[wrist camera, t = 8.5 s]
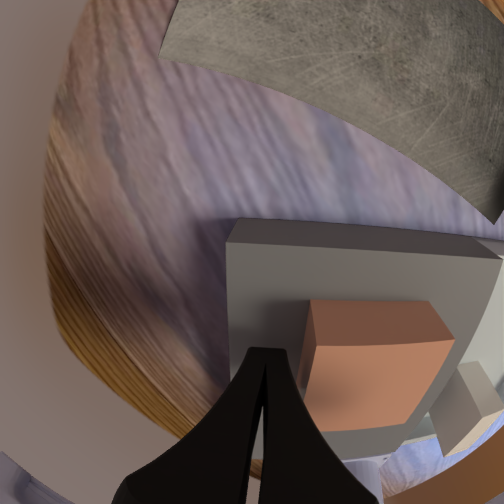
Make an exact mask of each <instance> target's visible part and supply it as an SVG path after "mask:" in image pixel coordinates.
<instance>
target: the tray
mask: <svg viewBox="0 0 504 504" xmlns="http://www.w3.org/2000/svg"><path fill="white" fill-rule="evenodd" d="M472 238H474V239H475V240H477V241H478V242H479V243H481V244H482V245H484V246H485V247H487V248H488V249H490V250H491V251H492V252H494V253H495V254H496V255H498V256H499V257H501V258H502V259H503V263H502V266H501V269H500V272H499V276H498V278H497V281H496V284H495V287H494V290H493V292H492V295H491V298H490V300H489V303H488V305H487V308H486V310H485V312H484V315H483V317H482V319H481V321H480V324H479V326H478V328H477V330H476V332H475V334H474V336H473V338H472V340H471V342H470V344H469V346H468V348H467V350H466V352H465V354H464V356H463V357H462V359H461V361H460V363H459V364H464V363H470V362H474V361H479V363H480V364H481V366H482V368H483V369H484V371H485V373H486V374H487V376H488V378H489V379H490V381H491V383H492V384H493V386H494V388H495V390H496V391H497V393H498V395H499V397H500V399H501V401H502V402H503V404H504V241H501V240H493V239H486V238H479V237H472ZM459 364H458V365H459ZM435 437H437V435H436V432H435V429H434V426H433V423H432V421H431V418H430V415H429V412H427V413H426V415H425V416H424V417H423V419H422V420H421V421H420V422H419V424H418V425H417V426H416V428H415V429H414V430H413V431H412V432H411V434H410V435H409V436H408V437H407V438H406V440H405V441H404V442H403V443H402V444H401V445H406V444H410V443H415V442H419V441H424V440H428V439H431V438H435ZM401 445H400V446H401Z"/></svg>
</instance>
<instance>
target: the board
mask: <svg viewBox="0 0 504 504" xmlns="http://www.w3.org/2000/svg"><path fill="white" fill-rule="evenodd" d="M502 263H503V259H502V258H501V257H499V256H498V255H496V254H495V253H494V252H492V251H491V250H490V249H488V248H487V247H485V246H484V245H482V244H481V243H479V242H478V241H477V240H475V239H474V238H472V237H471V236H463V235H455V234H446V233H437V232H428V231H419V230H409V229H398V228H388V227H376V226H365V225H352V224H339V223H325V222H309V221H293V220H275V219H254V218H238V220H237V222H236V224H235V226H234V227H233V229H232V231H231V233H230V235H229V237H228V239H227V240H226V283H227V314H228V339H229V361H230V380H231V381H232V379H233V378H234V376H235V374H236V373H237V371H238V369H239V367H240V365H241V364H242V362H243V359H244V357H245V355H246V352H247V350H248V348H249V347H251V346H252V347H266V348H284V349H285V350H286V351H287V356H288V361H289V365H290V368H291V371H292V374H293V377H294V380H295V383H296V380H297V375H298V370H299V365H300V359H301V354H302V348H303V342H304V336H305V330H306V324H307V318H308V311H309V305H310V299H314V300H343V301H429V303H430V304H431V305H432V307H433V308H434V309H435V311H436V312H437V313H438V315H439V316H440V318H441V319H442V320H443V322H444V323H445V325H446V326H447V328H448V329H449V330H450V332H451V333H452V335H453V336H454V338H455V341H454V343H453V345H452V347H451V349H450V351H449V353H448V355H447V357H446V359H445V361H444V363H443V364H442V366H441V368H440V370H439V372H438V373H437V375H436V377H435V378H434V380H433V382H432V383H431V385H430V387H429V388H428V390H427V392H426V393H425V395H424V396H423V398H422V399H421V401H420V402H419V404H418V405H417V407H416V408H415V410H414V411H413V412H412V414H411V415H410V417H409V418H408V419H407V421H406V422H405V423H403V424H397V425H391V426H384V427H376V428H367V429H357V430H344V431H322V432H320V433H321V434H322V436H323V437H324V439H325V440H326V442H327V443H328V445H329V446H330V447H331V449H332V450H333V451H334V453H335V454H336V455H337V456H338V458H339V459H346V458H356V457H365V456H372V455H379V454H385V453H391V452H395V451H396V450H397V449H398V448H399V447H400V445H401V444H402V443H403V442H404V441H405V440H406V438H407V437H408V436H409V435H410V434H411V432H412V431H413V430H414V429H415V428H416V426H417V425H418V424H419V422H420V421H421V420H422V419H423V417H424V416H425V415H426V413H427V412H428V411H429V409H430V408H431V406H432V405H433V404H434V402H435V401H436V399H437V398H438V396H439V395H440V393H441V392H442V390H443V389H444V387H445V386H446V384H447V383H448V381H449V380H450V378H451V376H452V375H453V373H454V371H455V370H456V368H457V366H458V364H459V363H460V361H461V359H462V357H463V356H464V354H465V352H466V350H467V348H468V346H469V344H470V342H471V340H472V338H473V336H474V334H475V332H476V330H477V328H478V326H479V324H480V321H481V319H482V317H483V315H484V312H485V310H486V308H487V305H488V303H489V300H490V298H491V295H492V292H493V290H494V287H495V284H496V281H497V278H498V276H499V272H500V269H501V266H502ZM252 459H263V407H262V412H261V417H260V422H259V426H258V431H257V435H256V440H255V444H254V449H253V454H252Z"/></svg>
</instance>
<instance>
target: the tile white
mask: <svg viewBox="0 0 504 504" xmlns="http://www.w3.org/2000/svg"><path fill="white" fill-rule="evenodd" d="M503 411H504V404H503V402H502V401H501V399H500V397H499V395H498V393H497V391H496V390H495V388H494V386H493V384H492V383H491V381H490V379H489V378H488V376H487V374H486V373H485V371H484V369H483V368H482V366H481V364H480V363H479V361H474V362H470V363H464V364H459V365H458V366H457V368H456V370H455V371H454V373H453V375H452V376H451V378H450V380H449V381H448V383H447V384H446V386H445V387H444V389H443V390H442V392H441V393H440V395H439V396H438V398H437V399H436V401H435V402H434V404H433V405H432V406H431V408H430V409H429V411H428V412H429V415H430V418H431V421H432V423H433V426H434V429H435V432H436V435H437V438H438V441H439V444H440V447H441V451H442V454H443V457H447V456H450V455H452V454H455V453H458V452H461V451H463V450H466V449H468V448H469V447H470V446H471V445H472V444H473V443H474V442H475V441H476V440H477V439H478V438H479V437H480V436H481V435H482V434H483V433H484V432H485V431H486V430H487V429H488V428H489V427H490V426H491V425H492V423H493V422H494V421H495V420H496V419H497V418H498V417H499V415H500V414H501V413H502V412H503Z"/></svg>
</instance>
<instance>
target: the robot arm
mask: <svg viewBox="0 0 504 504" xmlns="http://www.w3.org/2000/svg"><path fill="white" fill-rule="evenodd" d="M262 407H263V465H262V474H261V484H260V492H259V500H258V504H384V503H383V495H382V487H381V480H380V474H379V468H380V467H381V466H382V465H383V464H384V463H385V462H386V461H387V460H388V458H389V457H390V456H391V455H392V454H391V453H385V454H379V455H372V456H365V457H356V458H346V459H339V458H338V456H337V455H336V454H335V453H334V451H333V450H332V449H331V447H330V446H329V445H328V443H327V442H326V440H325V439H324V437H323V436H322V434H321V433H320V431H319V429H318V428H317V426H316V424H315V423H314V421H313V419H312V417H311V416H310V414H309V412H308V410H307V408H306V406H305V404H304V402H303V399H302V397H301V395H300V393H299V390H298V388H297V385H296V383H295V380H294V377H293V374H292V371H291V368H290V365H289V361H288V356H287V351H286V350H285V349H284V348H266V347H252V346H251V347H249V348H248V350H247V352H246V355H245V357H244V359H243V362H242V364H241V365H240V367H239V369H238V371H237V373H236V374H235V376H234V378H233V379H232V381H231V382H230V384H229V385H228V387H227V388H226V390H225V391H224V393H223V394H222V395H221V397H220V398H219V399H218V401H217V402H216V403H215V405H214V406H213V407H212V408H211V410H210V411H209V412H208V413H207V414H206V415H205V416H204V418H203V419H202V420H201V421H200V422H199V423H198V424H197V425H196V426H195V427H194V428H193V429H192V430H191V431H190V432H189V433H188V434H186V435H185V436H184V437H183V438H182V439H181V440H180V441H179V442H177V444H175V445H174V446H172V447H171V448H170V449H168V450H167V451H166V452H165V453H163V454H162V455H160V456H159V457H158V458H156V459H155V460H153V461H152V462H150V463H149V464H147V465H146V466H144V467H142V468H140V469H139V470H137V471H135V472H133V473H132V474H130V475H128V476H127V477H126V478H125V479H124V480H123V481H122V483H121V484H120V486H119V488H118V489H117V491H116V494H115V495H114V498H113V501H112V503H111V504H246V497H247V489H248V482H249V474H250V466H251V459H252V454H253V449H254V444H255V440H256V435H257V431H258V426H259V422H260V417H261V412H262ZM0 504H74V503H73V502H71V501H69V500H67V499H66V498H64V497H62V496H61V495H59V494H58V493H56V492H54V491H53V490H51V489H50V488H48V487H47V486H46V485H44V484H43V483H41V482H40V481H38V480H37V479H36V478H34V477H33V476H31V475H30V474H29V473H28V472H27V471H26V470H24V469H23V468H22V467H20V466H19V465H18V464H17V463H16V462H14V461H13V460H12V459H11V458H10V457H8V456H7V455H6V454H5V453H4V452H3V451H1V452H0ZM485 504H504V492H503V493H501V494H499V495H498V496H496V497H495V498H493V499H491V500H490V501H488V502H486V503H485Z"/></svg>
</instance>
